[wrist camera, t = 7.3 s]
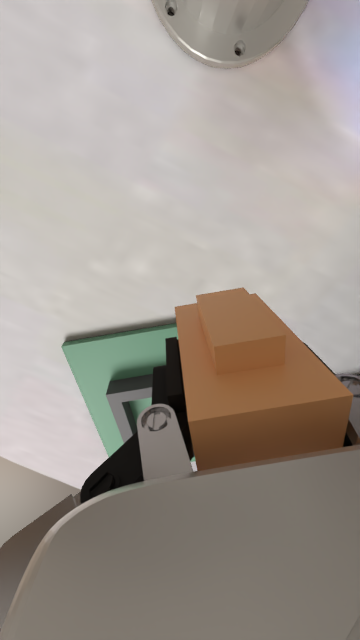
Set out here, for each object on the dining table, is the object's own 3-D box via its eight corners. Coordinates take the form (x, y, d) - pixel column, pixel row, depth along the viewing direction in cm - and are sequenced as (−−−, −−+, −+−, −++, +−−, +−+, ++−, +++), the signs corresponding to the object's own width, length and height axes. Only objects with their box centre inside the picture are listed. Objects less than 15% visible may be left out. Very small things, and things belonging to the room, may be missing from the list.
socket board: (64, 342, 30) (53, 358, 27) (213, 316, 30) (219, 330, 27) (117, 467, 41) (113, 490, 38) (227, 449, 40) (232, 470, 37)
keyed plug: (171, 287, 12) (182, 389, 6) (255, 273, 12) (360, 360, 6) (188, 385, 15) (208, 528, 8) (257, 374, 15) (329, 509, 8)
